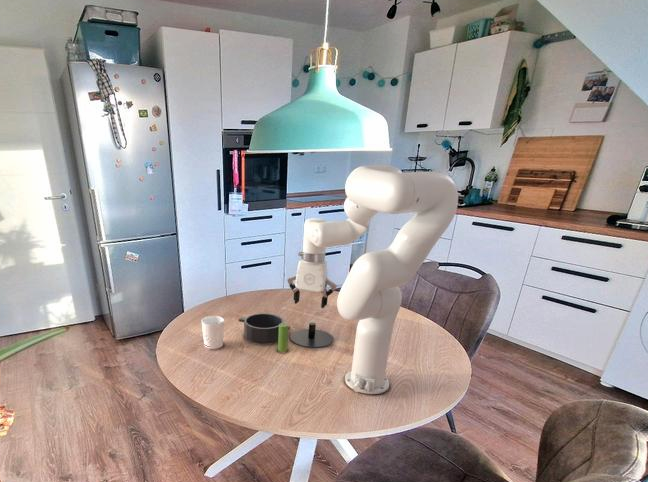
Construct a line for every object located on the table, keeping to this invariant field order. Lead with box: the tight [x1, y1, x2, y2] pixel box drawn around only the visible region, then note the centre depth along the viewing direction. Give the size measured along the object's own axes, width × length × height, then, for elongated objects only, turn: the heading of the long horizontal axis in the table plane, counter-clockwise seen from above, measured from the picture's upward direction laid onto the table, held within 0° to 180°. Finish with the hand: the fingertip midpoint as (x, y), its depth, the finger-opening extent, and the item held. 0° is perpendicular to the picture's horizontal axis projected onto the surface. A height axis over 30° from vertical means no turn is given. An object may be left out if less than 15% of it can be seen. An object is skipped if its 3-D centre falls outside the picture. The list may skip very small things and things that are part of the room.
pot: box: [238, 312, 291, 345], centre depth 145 cm, size 15×20×6 cm
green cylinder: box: [277, 322, 289, 353], centre depth 133 cm, size 3×3×10 cm
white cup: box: [200, 315, 225, 350], centre depth 137 cm, size 8×8×10 cm
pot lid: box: [289, 321, 334, 349], centre depth 141 cm, size 16×16×7 cm
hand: (309, 304), depth 136 cm, fingers open, 9 cm apart
